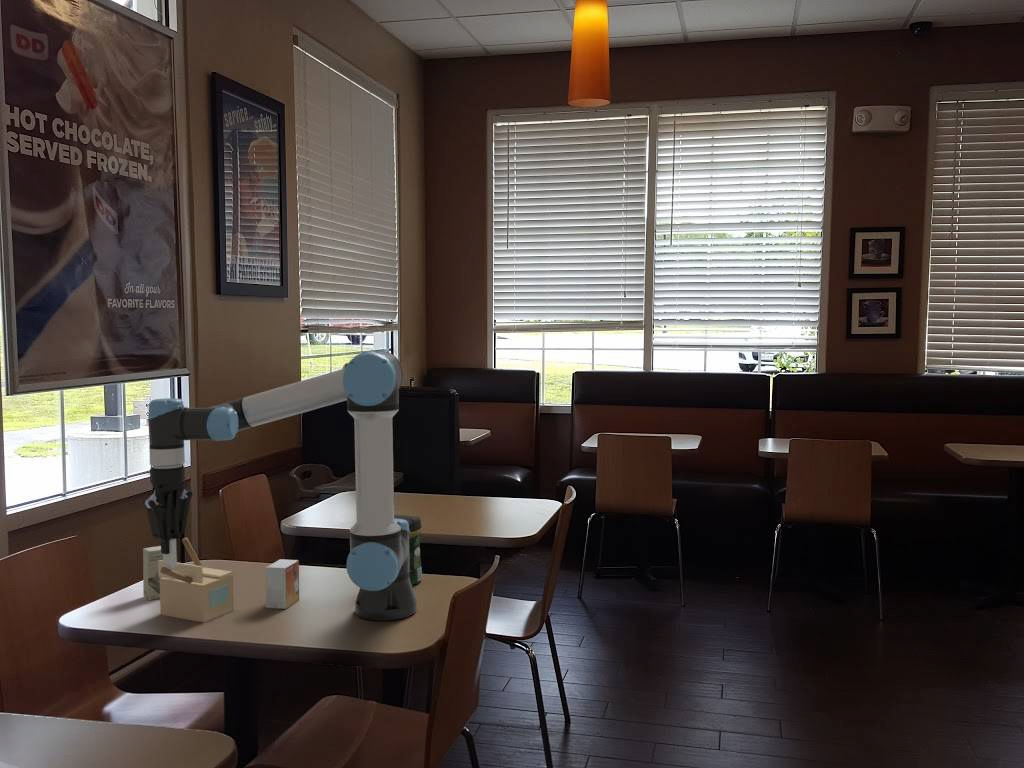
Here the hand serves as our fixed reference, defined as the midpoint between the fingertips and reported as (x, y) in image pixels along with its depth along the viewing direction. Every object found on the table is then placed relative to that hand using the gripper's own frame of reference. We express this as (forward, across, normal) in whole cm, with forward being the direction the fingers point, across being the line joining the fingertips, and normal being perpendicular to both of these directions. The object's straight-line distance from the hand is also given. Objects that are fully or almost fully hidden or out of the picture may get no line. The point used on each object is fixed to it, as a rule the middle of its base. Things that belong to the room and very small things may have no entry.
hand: (170, 566), depth 202 cm
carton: (+15, -12, -4) cm, 19 cm away
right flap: (+6, -14, -3) cm, 15 cm away
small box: (+15, -26, +12) cm, 32 cm away
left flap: (+3, -7, -4) cm, 8 cm away
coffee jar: (+15, -55, +29) cm, 64 cm away
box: (+15, -16, -22) cm, 32 cm away
